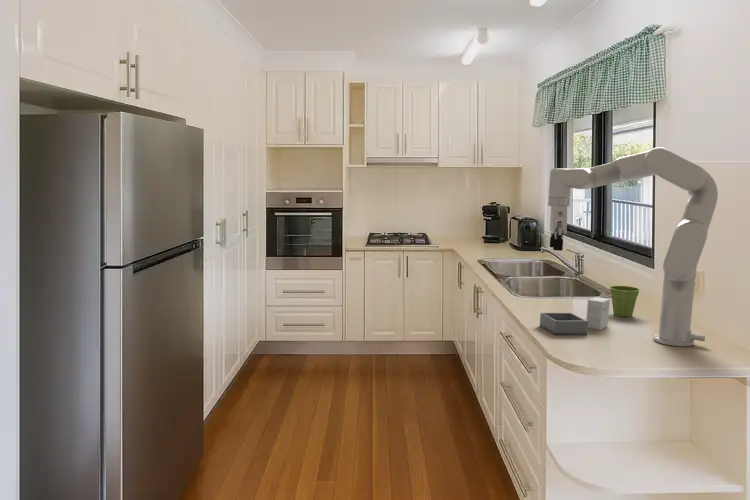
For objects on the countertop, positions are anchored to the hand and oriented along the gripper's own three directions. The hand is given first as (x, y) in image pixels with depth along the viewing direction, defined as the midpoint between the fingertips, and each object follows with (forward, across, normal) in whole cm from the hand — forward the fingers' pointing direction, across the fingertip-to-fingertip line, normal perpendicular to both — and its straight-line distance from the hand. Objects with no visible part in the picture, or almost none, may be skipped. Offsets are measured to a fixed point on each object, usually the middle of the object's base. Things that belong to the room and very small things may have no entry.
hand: (555, 248), depth 228 cm
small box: (+29, +1, -17) cm, 33 cm away
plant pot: (+29, +25, -32) cm, 50 cm away
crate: (+29, -8, -3) cm, 30 cm away
